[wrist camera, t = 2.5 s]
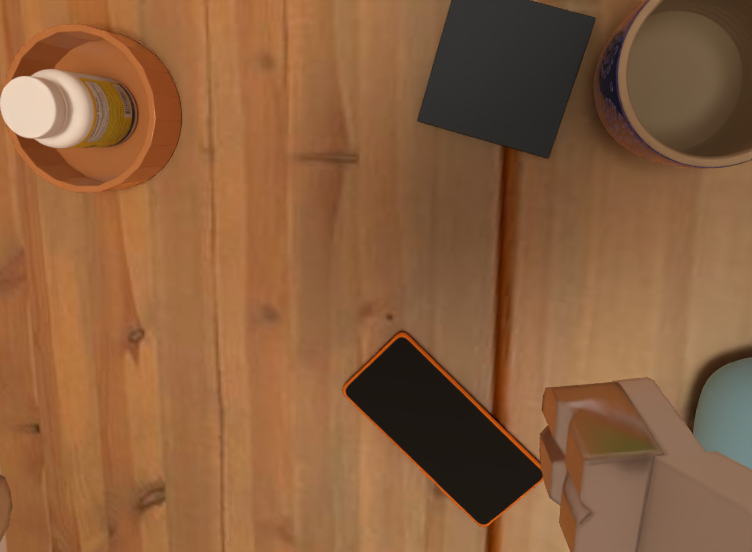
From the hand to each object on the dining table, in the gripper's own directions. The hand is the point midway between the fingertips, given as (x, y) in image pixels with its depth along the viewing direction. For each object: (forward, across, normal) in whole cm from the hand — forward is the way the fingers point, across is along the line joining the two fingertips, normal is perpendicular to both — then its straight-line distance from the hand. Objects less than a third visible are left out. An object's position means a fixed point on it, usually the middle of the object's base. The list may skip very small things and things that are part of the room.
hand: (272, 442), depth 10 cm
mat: (+41, -13, +3) cm, 43 cm away
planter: (+39, -24, +4) cm, 46 cm away
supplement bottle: (+46, +18, +5) cm, 50 cm away
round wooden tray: (+46, +18, +5) cm, 50 cm away
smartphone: (+34, -7, +30) cm, 46 cm away
